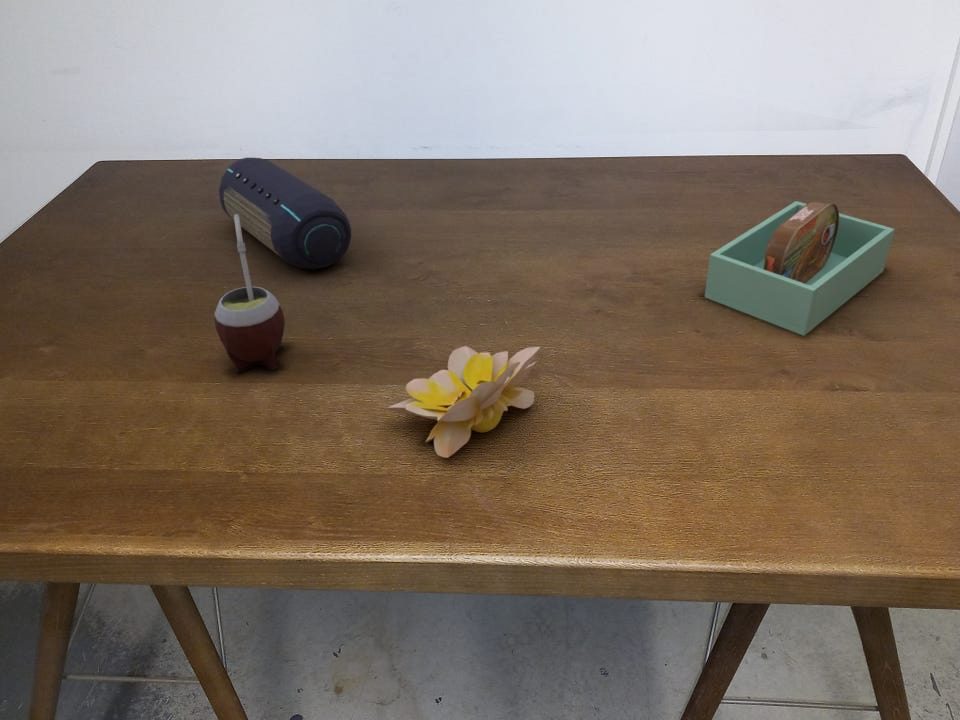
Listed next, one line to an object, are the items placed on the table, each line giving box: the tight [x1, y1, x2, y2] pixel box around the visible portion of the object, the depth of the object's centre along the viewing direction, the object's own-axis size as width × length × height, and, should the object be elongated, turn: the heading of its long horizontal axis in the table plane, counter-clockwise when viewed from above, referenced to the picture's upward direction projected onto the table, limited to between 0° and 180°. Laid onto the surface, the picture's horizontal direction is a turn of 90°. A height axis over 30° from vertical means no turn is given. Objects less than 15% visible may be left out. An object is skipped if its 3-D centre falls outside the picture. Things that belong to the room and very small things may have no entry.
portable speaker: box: [218, 157, 352, 270], centre depth 110 cm, size 25×10×10 cm, turn 37°
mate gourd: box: [214, 214, 286, 375], centre depth 86 cm, size 8×8×15 cm
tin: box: [764, 201, 840, 284], centre depth 95 cm, size 15×3×8 cm, turn 137°
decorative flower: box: [383, 345, 541, 458], centre depth 77 cm, size 15×11×10 cm
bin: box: [704, 200, 895, 336], centre depth 96 cm, size 20×13×6 cm, turn 134°
